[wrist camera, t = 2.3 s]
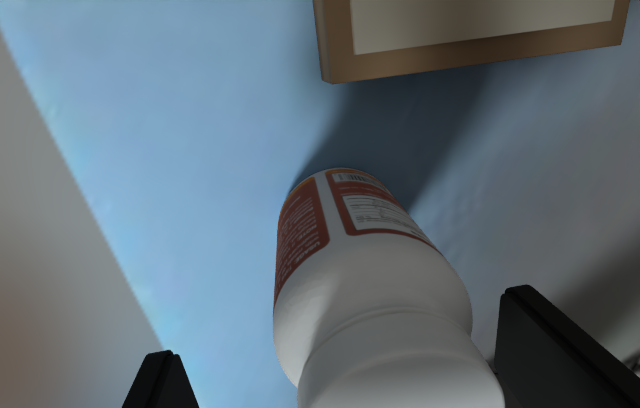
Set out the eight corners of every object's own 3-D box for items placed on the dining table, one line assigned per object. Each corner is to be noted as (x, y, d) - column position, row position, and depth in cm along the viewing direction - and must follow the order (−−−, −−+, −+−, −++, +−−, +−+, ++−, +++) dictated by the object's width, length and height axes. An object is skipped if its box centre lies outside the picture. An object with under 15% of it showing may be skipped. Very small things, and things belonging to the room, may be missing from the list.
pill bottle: (305, 286, 19) (323, 542, 9) (258, 192, 17) (207, 392, 6) (409, 247, 19) (555, 468, 8) (375, 145, 16) (521, 278, 6)
